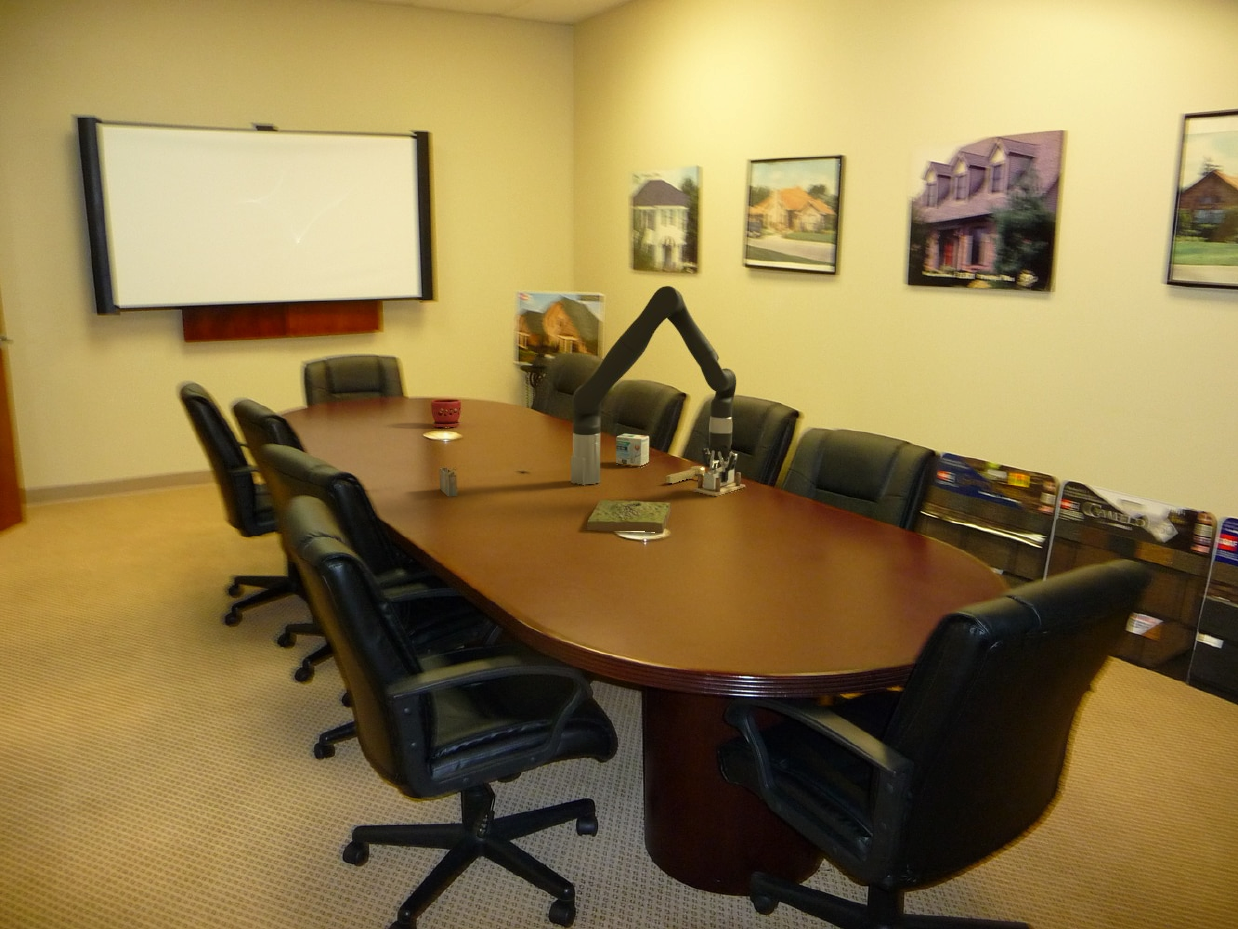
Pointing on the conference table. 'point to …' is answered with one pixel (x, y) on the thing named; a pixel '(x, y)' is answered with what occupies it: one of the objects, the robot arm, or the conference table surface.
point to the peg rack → (718, 486)
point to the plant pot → (446, 412)
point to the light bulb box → (632, 449)
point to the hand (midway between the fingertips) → (719, 481)
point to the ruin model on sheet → (448, 481)
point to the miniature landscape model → (629, 516)
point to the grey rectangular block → (716, 473)
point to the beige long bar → (685, 474)
